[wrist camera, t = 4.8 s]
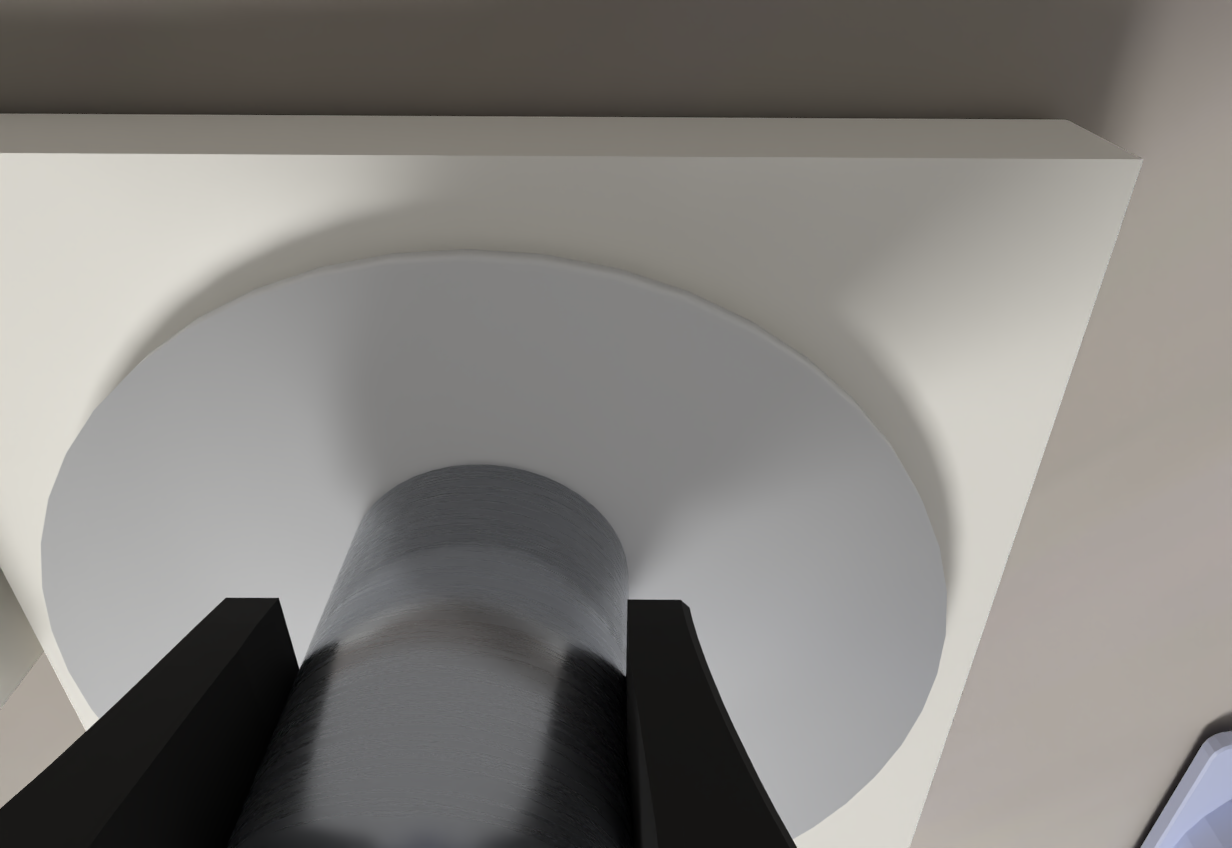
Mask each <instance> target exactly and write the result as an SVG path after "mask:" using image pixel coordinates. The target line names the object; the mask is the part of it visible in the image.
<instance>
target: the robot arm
mask: <svg viewBox="0 0 1232 848" xmlns="http://www.w3.org/2000/svg"><path fill="white" fill-rule="evenodd" d="M298 672H299V666H298V662H297V659H296V655H295V652H294V649H293V645H292V642H291V638H290V635H289V631H288V628H287V624H286V621H285V617H284V614H283V611H282V607H281V604H280V600H279V598H225V599H224V600H223V601H222V602H221V603H220V604H219V605H218V606H216V607H215V608H214V609H213V610H212V611H211V612H210V613H209V614H208V615H207V616H206V617H205V618H204V619H203V620H202V621H201V622H200V623H198V624H197V625H196V626H195V627H194V628H193V629H192V630H191V631H190V632H189V633H188V634H187V635H186V636H185V637H184V638H183V639H182V640H181V641H180V642H179V643H178V644H177V645H176V646H175V647H174V648H173V649H172V650H171V651H170V652H168V653H167V654H166V655H165V656H164V657H163V658H162V659H161V660H160V661H159V662H158V663H157V664H156V665H155V666H154V667H153V668H152V669H151V670H150V671H149V672H148V673H147V674H146V675H145V676H144V677H143V678H142V679H141V680H140V681H139V682H138V683H137V684H136V685H134V686H133V687H132V688H131V689H130V690H129V691H128V692H127V693H126V694H125V695H124V696H123V697H122V698H121V699H120V700H119V701H118V702H117V703H116V704H115V705H114V706H113V707H111V708H110V709H109V710H108V711H107V712H106V713H105V714H104V715H103V716H102V717H101V718H100V719H99V720H98V721H97V722H96V723H94V724H93V725H92V726H91V727H90V728H89V729H88V730H87V731H86V732H85V733H84V734H83V735H82V736H81V737H80V738H78V739H77V740H76V741H75V742H74V743H73V744H72V745H71V746H70V747H69V748H68V749H67V750H66V751H65V752H64V753H62V754H61V755H60V756H59V757H58V758H57V759H56V760H55V761H54V762H53V763H52V764H51V765H49V766H48V767H47V768H46V769H45V770H44V771H43V772H42V773H40V774H39V775H38V776H37V777H36V778H35V779H34V780H33V781H31V782H30V783H29V784H28V785H27V786H26V787H25V788H23V789H22V790H21V791H20V792H19V793H18V794H17V795H15V796H14V797H13V798H12V799H11V800H10V801H9V802H7V803H6V804H5V805H4V806H3V807H2V808H1V809H0V848H226V847H227V845H228V843H229V840H230V838H231V835H232V833H233V830H234V828H235V825H236V823H237V821H238V818H239V816H240V813H241V811H242V808H243V806H244V803H245V801H246V799H247V796H248V794H249V791H250V789H251V786H252V784H253V782H254V779H255V777H256V774H257V772H258V769H259V767H260V764H261V762H262V760H263V757H264V755H265V752H266V750H267V747H268V745H269V743H270V740H271V738H272V735H273V733H274V730H275V728H276V725H277V723H278V721H279V718H280V716H281V713H282V711H283V708H284V706H285V703H286V701H287V699H288V696H289V694H290V691H291V689H292V686H293V684H294V682H295V679H296V677H297V674H298ZM626 718H627V756H628V767H629V780H630V794H631V808H632V828H633V848H797V846H796V845H795V843H794V841H793V839H792V838H791V836H790V834H789V832H788V830H787V829H786V827H785V825H784V823H783V821H782V820H781V818H780V816H779V814H778V813H777V811H776V809H775V807H774V805H773V803H772V801H771V799H770V798H769V796H768V794H767V792H766V790H765V788H764V786H763V784H762V782H761V780H760V779H759V777H758V775H757V772H756V770H755V768H754V766H753V764H752V762H751V760H750V758H749V756H748V754H747V752H746V750H745V748H744V746H743V744H742V742H741V740H740V738H739V736H738V734H737V732H736V729H735V727H734V725H733V723H732V721H731V719H730V717H729V714H728V712H727V710H726V708H725V705H724V703H723V701H722V698H721V696H720V694H719V691H718V689H717V686H716V684H715V682H714V679H713V677H712V674H711V672H710V669H709V667H708V664H707V661H706V659H705V656H704V653H703V651H702V648H701V645H700V642H699V639H698V636H697V633H696V629H695V626H694V623H693V619H692V615H691V611H690V607H689V606H687V605H686V604H685V603H684V602H683V601H682V600H643V599H627V649H626ZM1141 848H1232V731H1227V732H1221V733H1218V734H1215V735H1213V736H1211V737H1210V738H1208V739H1207V740H1206V741H1205V742H1204V743H1203V744H1202V746H1201V748H1200V749H1199V751H1198V753H1197V754H1196V756H1195V758H1194V759H1193V761H1192V763H1191V764H1190V766H1189V768H1188V769H1187V771H1186V773H1185V774H1184V776H1183V778H1182V779H1181V781H1180V783H1179V784H1178V786H1177V788H1176V789H1175V791H1174V793H1173V794H1172V796H1171V798H1170V799H1169V801H1168V803H1167V804H1166V806H1165V808H1164V809H1163V811H1162V813H1161V814H1160V816H1159V818H1158V819H1157V821H1156V823H1155V824H1154V826H1153V828H1152V829H1151V831H1150V833H1149V834H1148V836H1147V838H1146V839H1145V841H1144V843H1143V844H1142V846H1141Z"/></svg>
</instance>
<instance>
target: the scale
mask: <svg viewBox="0 0 1232 848" xmlns="http://www.w3.org/2000/svg"><path fill="white" fill-rule="evenodd" d="M1143 160H1144V159H1142V158H1140V157H1138V156H1136V155H1134V154H1132V153H1130V152H1129V151H1127V150H1125V149H1123V148H1121V147H1119V146H1117V145H1115V144H1113V143H1111V142H1109V141H1107V140H1105V139H1103V138H1102V137H1100V136H1098V135H1096V134H1094V133H1092V132H1090V131H1088V130H1086V129H1084V128H1082V127H1080V126H1078V125H1077V124H1075V123H1073V122H1071V121H1069V120H1051V119H873V118H695V117H517V116H339V115H161V114H0V709H1V708H2V707H3V705H4V704H5V703H6V701H7V700H8V699H9V697H10V696H11V695H12V693H13V692H14V691H15V689H16V688H17V687H18V685H19V684H20V683H21V681H22V680H23V679H24V677H25V676H26V675H27V673H28V672H29V671H30V669H31V668H32V667H33V665H34V664H35V663H36V661H37V660H38V659H39V657H40V656H41V655H42V653H43V652H45V654H46V656H47V657H48V659H49V661H50V663H51V665H52V667H53V669H54V671H55V673H56V675H57V677H58V679H59V681H60V682H61V684H62V686H63V688H64V690H65V692H66V694H67V696H68V698H69V700H70V702H71V704H72V706H73V707H74V709H75V711H76V713H77V715H78V717H79V719H80V721H81V723H82V725H83V727H84V729H85V730H86V731H87V730H88V729H89V728H90V727H91V726H92V725H93V724H94V723H96V722H97V721H98V720H99V719H100V718H101V717H102V716H103V715H104V714H105V713H106V712H107V711H108V710H109V709H110V708H111V707H113V706H114V705H115V704H116V703H117V702H118V701H119V700H120V699H121V698H122V697H123V696H124V695H125V694H126V693H127V692H128V691H129V690H130V689H131V688H132V687H133V686H134V685H136V684H137V683H138V682H139V681H140V680H141V679H142V678H143V677H144V676H145V675H146V674H147V673H148V672H149V671H150V670H151V669H152V668H153V667H154V666H155V665H156V664H157V663H158V662H159V661H160V660H161V659H162V658H163V657H164V656H165V655H166V654H167V653H168V652H170V651H171V650H172V649H173V648H174V647H175V646H176V645H177V644H178V643H179V642H180V641H181V640H182V639H183V638H184V637H185V636H186V635H187V634H188V633H189V632H190V631H191V630H192V629H193V628H194V627H195V626H196V625H197V624H198V623H200V622H201V621H202V620H203V619H204V618H205V617H206V616H207V615H208V614H209V613H210V612H211V611H212V610H213V609H214V608H215V607H216V606H218V605H219V604H220V603H221V602H222V601H223V600H224V599H225V598H279V600H280V604H281V607H282V611H283V614H284V617H285V621H286V624H287V628H288V631H289V635H290V638H291V642H292V645H293V649H294V652H295V655H296V659H297V662H298V666H299V669H300V667H301V664H302V662H303V660H304V657H305V655H306V652H307V650H308V647H309V645H310V642H311V640H312V638H313V635H314V633H315V630H316V628H317V625H318V623H319V621H320V618H321V616H322V613H323V611H324V608H325V606H326V603H327V601H328V599H329V596H330V594H331V591H332V589H333V586H334V584H335V581H336V579H337V577H338V574H339V572H340V569H341V567H342V564H343V562H344V560H345V557H346V555H347V552H348V550H349V547H350V545H351V542H352V540H353V538H354V535H355V533H356V530H357V528H358V526H359V525H360V523H361V521H362V519H363V517H364V516H365V514H366V513H367V512H368V511H369V509H370V508H371V507H372V505H373V504H374V503H375V502H377V501H378V500H379V499H380V498H381V497H382V496H383V495H384V494H385V493H387V492H388V491H390V490H391V489H393V488H394V487H395V486H397V485H399V484H400V483H402V482H404V481H406V480H408V479H410V478H412V477H415V476H417V475H420V474H423V473H426V472H429V471H432V470H436V469H441V468H445V467H450V466H460V465H497V466H507V467H512V468H517V469H521V470H526V471H529V472H532V473H535V474H538V475H542V476H545V477H547V478H549V479H551V480H554V481H556V482H558V483H560V484H562V485H564V486H566V487H568V488H569V489H571V490H573V491H574V492H576V493H578V494H579V495H580V496H582V497H583V498H584V499H586V500H587V501H588V502H589V503H591V504H592V505H593V506H594V507H595V508H596V509H597V510H598V511H599V512H600V513H601V514H602V515H603V516H604V517H605V518H606V520H607V521H608V522H609V524H610V525H611V526H612V528H613V529H614V531H615V533H616V534H617V536H618V538H619V540H620V542H621V544H622V547H623V550H624V553H625V556H626V560H627V566H628V587H629V599H643V600H682V601H683V602H684V603H685V604H686V605H687V606H689V607H690V611H691V615H692V619H693V623H694V626H695V629H696V633H697V636H698V639H699V642H700V645H701V648H702V651H703V653H704V656H705V659H706V661H707V664H708V667H709V669H710V672H711V674H712V677H713V679H714V682H715V684H716V686H717V689H718V691H719V694H720V696H721V698H722V701H723V703H724V705H725V708H726V710H727V712H728V714H729V717H730V719H731V721H732V723H733V725H734V727H735V729H736V732H737V734H738V736H739V738H740V740H741V742H742V744H743V746H744V748H745V750H746V752H747V754H748V756H749V758H750V760H751V762H752V764H753V766H754V768H755V770H756V772H757V775H758V777H759V779H760V780H761V782H762V784H763V786H764V788H765V790H766V792H767V794H768V796H769V798H770V799H771V801H772V803H773V805H774V807H775V809H776V811H777V813H778V814H779V816H780V818H781V820H782V821H783V823H784V825H785V827H786V829H787V830H788V832H789V834H790V836H791V838H792V839H793V841H794V843H795V845H796V846H797V848H909V847H910V844H911V841H912V838H913V836H914V833H915V830H916V827H917V824H918V821H919V818H920V815H921V812H922V809H923V806H924V803H925V800H926V797H927V794H928V791H929V789H930V786H931V783H932V780H933V777H934V774H935V771H936V768H937V765H938V762H939V759H940V756H941V753H942V750H943V747H944V744H945V742H946V739H947V736H948V733H949V730H950V727H951V724H952V721H953V718H954V715H955V712H956V709H957V706H958V703H959V700H960V697H961V695H962V692H963V689H964V686H965V683H966V680H967V677H968V674H969V671H970V668H971V665H972V662H973V659H974V656H975V653H976V650H977V647H978V645H979V642H980V639H981V636H982V633H983V630H984V627H985V624H986V621H987V618H988V615H989V612H990V609H991V606H992V603H993V600H994V598H995V595H996V592H997V589H998V586H999V583H1000V580H1001V577H1002V574H1003V571H1004V568H1005V565H1006V562H1007V559H1008V556H1009V553H1010V551H1011V548H1012V545H1013V542H1014V539H1015V536H1016V533H1017V530H1018V527H1019V524H1020V521H1021V518H1022V515H1023V512H1024V509H1025V506H1026V504H1027V501H1028V498H1029V495H1030V492H1031V489H1032V486H1033V483H1034V480H1035V477H1036V474H1037V471H1038V468H1039V465H1040V462H1041V459H1042V457H1043V454H1044V451H1045V448H1046V445H1047V442H1048V439H1049V436H1050V433H1051V430H1052V427H1053V424H1054V421H1055V418H1056V415H1057V412H1058V410H1059V407H1060V404H1061V401H1062V398H1063V395H1064V392H1065V389H1066V386H1067V383H1068V380H1069V377H1070V374H1071V371H1072V368H1073V365H1074V363H1075V360H1076V357H1077V354H1078V351H1079V348H1080V345H1081V342H1082V339H1083V336H1084V333H1085V330H1086V327H1087V324H1088V321H1089V318H1090V316H1091V313H1092V310H1093V307H1094V304H1095V301H1096V298H1097V295H1098V292H1099V289H1100V286H1101V283H1102V280H1103V277H1104V274H1105V271H1106V268H1107V266H1108V263H1109V260H1110V257H1111V254H1112V251H1113V248H1114V245H1115V242H1116V239H1117V236H1118V233H1119V230H1120V227H1121V224H1122V221H1123V219H1124V216H1125V213H1126V210H1127V207H1128V204H1129V201H1130V198H1131V195H1132V192H1133V189H1134V186H1135V183H1136V180H1137V177H1138V174H1139V172H1140V169H1141V166H1142V163H1143Z"/></svg>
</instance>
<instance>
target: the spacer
mask: <svg viewBox="0 0 1232 848" xmlns="http://www.w3.org/2000/svg"><path fill="white" fill-rule="evenodd" d="M627 599H629V587H628V566H627V560H626V556H625V553H624V550H623V547H622V544H621V542H620V540H619V538H618V536H617V534H616V533H615V531H614V529H613V528H612V526H611V525H610V524H609V522H608V521H607V520H606V518H605V517H604V516H603V515H602V514H601V513H600V512H599V511H598V510H597V509H596V508H595V507H594V506H593V505H592V504H591V503H589V502H588V501H587V500H586V499H584V498H583V497H582V496H580V495H579V494H578V493H576V492H574V491H573V490H571V489H569V488H568V487H566V486H564V485H562V484H560V483H558V482H556V481H554V480H551V479H549V478H547V477H545V476H542V475H538V474H535V473H532V472H529V471H526V470H521V469H517V468H512V467H507V466H497V465H460V466H450V467H445V468H441V469H436V470H432V471H429V472H426V473H423V474H420V475H417V476H415V477H412V478H410V479H408V480H406V481H404V482H402V483H400V484H399V485H397V486H395V487H394V488H393V489H391V490H390V491H388V492H387V493H385V494H384V495H383V496H382V497H381V498H380V499H379V500H378V501H377V502H375V503H374V504H373V505H372V507H371V508H370V509H369V511H368V512H367V513H366V514H365V516H364V517H363V519H362V521H361V523H360V525H359V526H358V528H357V530H356V533H355V535H354V538H353V540H352V542H351V545H350V547H349V550H348V552H347V555H346V557H345V560H344V562H343V564H342V567H341V569H340V572H339V574H338V577H337V579H336V581H335V584H334V586H333V589H332V591H331V594H330V596H329V599H328V601H327V603H326V606H325V608H324V611H323V613H322V616H321V618H320V621H319V623H318V625H317V628H316V630H315V633H314V635H313V638H312V640H311V642H310V645H309V647H308V650H307V652H306V655H305V657H304V660H303V662H302V664H301V667H300V669H299V672H298V674H297V677H296V679H295V682H294V684H293V686H292V689H291V691H290V694H289V696H288V699H287V701H286V703H285V706H284V708H283V711H282V713H281V716H280V718H279V721H278V723H277V725H276V728H275V730H274V733H273V735H272V738H271V740H270V743H269V745H268V747H267V750H266V752H265V755H264V757H263V760H262V762H261V764H260V767H259V769H258V772H257V774H256V777H255V779H254V782H253V784H252V786H251V789H250V791H249V794H248V796H247V799H246V801H245V803H244V806H243V808H242V811H241V813H240V816H239V818H238V821H237V823H236V825H235V828H234V830H233V833H232V835H231V838H230V840H229V843H228V845H227V847H226V848H633V828H632V808H631V794H630V780H629V767H628V756H627V718H626V649H627Z"/></svg>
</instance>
